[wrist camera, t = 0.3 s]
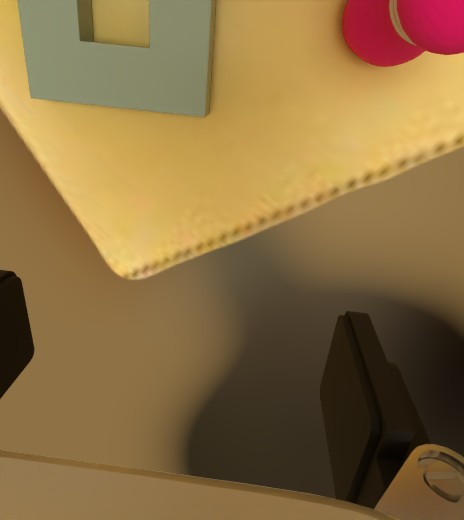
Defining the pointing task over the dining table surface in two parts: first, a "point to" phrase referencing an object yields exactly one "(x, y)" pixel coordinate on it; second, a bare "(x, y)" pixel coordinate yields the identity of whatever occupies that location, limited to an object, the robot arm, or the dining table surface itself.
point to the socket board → (121, 57)
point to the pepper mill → (403, 29)
